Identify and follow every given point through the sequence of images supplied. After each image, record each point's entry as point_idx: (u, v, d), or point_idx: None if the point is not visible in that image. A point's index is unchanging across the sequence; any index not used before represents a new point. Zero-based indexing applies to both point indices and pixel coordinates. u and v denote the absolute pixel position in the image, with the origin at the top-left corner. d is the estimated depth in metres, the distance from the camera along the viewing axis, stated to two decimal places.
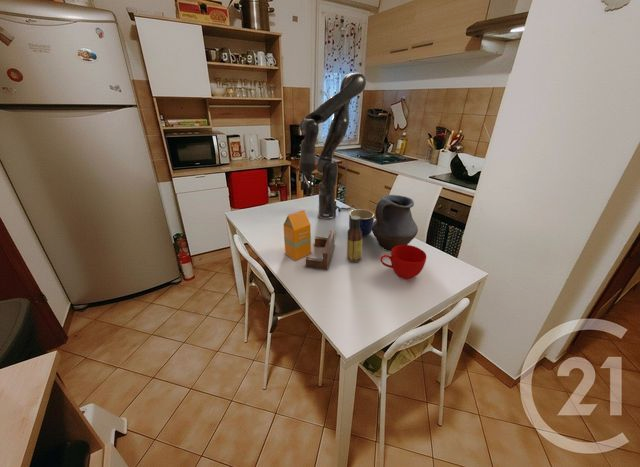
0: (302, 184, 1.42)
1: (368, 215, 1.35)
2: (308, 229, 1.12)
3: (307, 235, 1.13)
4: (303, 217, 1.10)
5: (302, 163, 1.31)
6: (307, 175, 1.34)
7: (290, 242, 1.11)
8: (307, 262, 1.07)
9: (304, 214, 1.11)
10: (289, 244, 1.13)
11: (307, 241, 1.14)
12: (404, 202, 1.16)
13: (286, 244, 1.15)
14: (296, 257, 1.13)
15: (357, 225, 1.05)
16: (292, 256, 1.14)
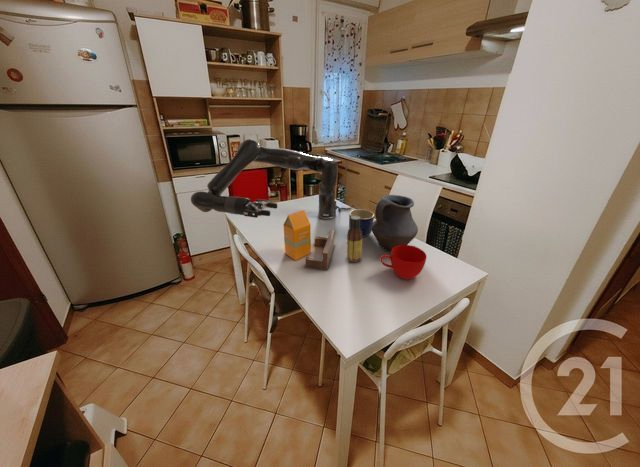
0: (270, 206, 1.14)
1: (368, 215, 1.35)
2: (308, 229, 1.12)
3: (307, 235, 1.13)
4: (303, 217, 1.10)
5: None
6: None
7: (290, 242, 1.11)
8: (307, 262, 1.07)
9: (304, 214, 1.11)
10: (289, 244, 1.13)
11: (307, 241, 1.14)
12: (404, 202, 1.16)
13: (286, 244, 1.15)
14: (296, 257, 1.13)
15: (357, 225, 1.05)
16: (292, 256, 1.14)
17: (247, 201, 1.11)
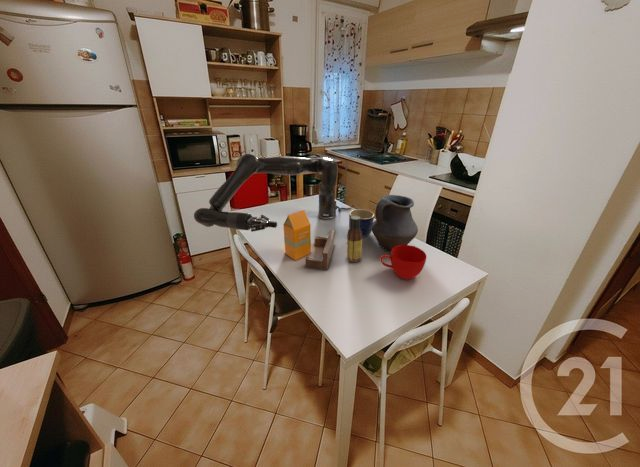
0: None
1: (368, 215, 1.35)
2: (308, 229, 1.12)
3: (307, 235, 1.13)
4: (303, 217, 1.10)
5: None
6: None
7: (290, 242, 1.11)
8: (307, 262, 1.07)
9: (304, 213, 1.11)
10: (289, 244, 1.13)
11: (307, 241, 1.14)
12: (404, 202, 1.16)
13: (286, 244, 1.15)
14: (296, 257, 1.13)
15: (357, 225, 1.05)
16: (292, 256, 1.14)
17: (248, 217, 1.14)
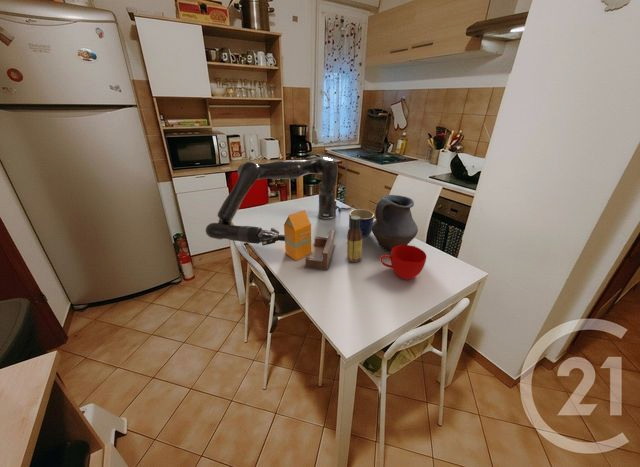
0: None
1: (368, 215, 1.35)
2: (309, 229, 1.12)
3: (308, 235, 1.13)
4: (304, 217, 1.10)
5: None
6: None
7: (291, 242, 1.11)
8: (307, 262, 1.07)
9: (304, 214, 1.11)
10: (290, 244, 1.13)
11: (308, 241, 1.14)
12: (404, 202, 1.16)
13: (287, 244, 1.14)
14: (297, 257, 1.13)
15: (357, 225, 1.05)
16: (293, 256, 1.14)
17: (259, 230, 1.17)
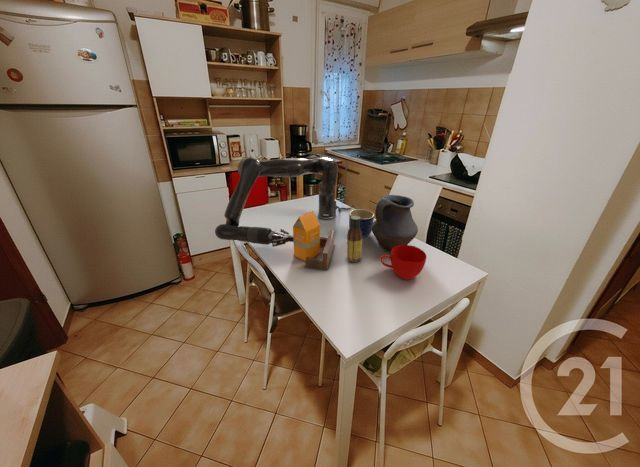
0: None
1: (368, 215, 1.35)
2: (318, 230, 1.12)
3: (317, 236, 1.12)
4: (313, 218, 1.10)
5: None
6: None
7: (301, 244, 1.10)
8: (307, 262, 1.07)
9: (313, 214, 1.11)
10: (299, 246, 1.11)
11: (317, 242, 1.14)
12: (404, 202, 1.16)
13: (296, 246, 1.13)
14: None
15: (357, 225, 1.05)
16: (303, 258, 1.13)
17: (269, 231, 1.16)
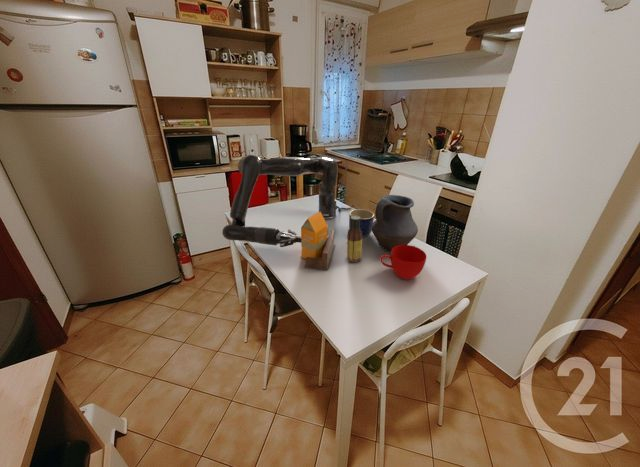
0: None
1: (368, 215, 1.35)
2: (326, 230, 1.11)
3: (325, 236, 1.12)
4: (320, 218, 1.09)
5: None
6: None
7: (309, 245, 1.09)
8: (307, 262, 1.07)
9: (321, 215, 1.10)
10: (308, 247, 1.10)
11: (325, 242, 1.13)
12: (404, 202, 1.16)
13: (304, 247, 1.12)
14: None
15: (357, 225, 1.05)
16: None
17: (276, 232, 1.15)
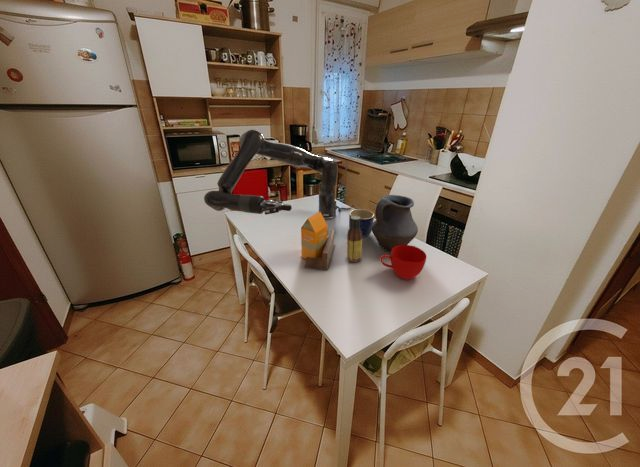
0: None
1: (368, 215, 1.35)
2: (326, 230, 1.11)
3: (325, 236, 1.12)
4: (320, 218, 1.09)
5: None
6: None
7: (309, 245, 1.09)
8: (307, 262, 1.07)
9: (321, 215, 1.10)
10: (308, 247, 1.10)
11: (325, 242, 1.13)
12: (404, 202, 1.16)
13: (304, 247, 1.12)
14: None
15: (357, 225, 1.05)
16: None
17: (261, 199, 1.09)
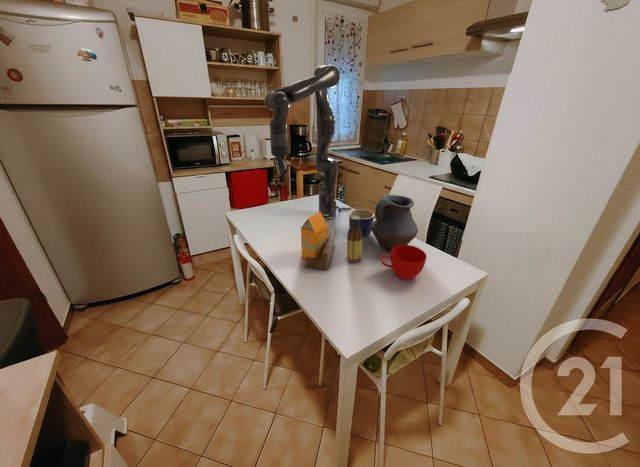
0: None
1: (368, 215, 1.35)
2: (326, 230, 1.11)
3: (325, 236, 1.12)
4: (320, 218, 1.09)
5: (273, 146, 1.12)
6: (280, 160, 1.15)
7: (309, 245, 1.09)
8: (307, 262, 1.07)
9: (321, 215, 1.10)
10: (308, 247, 1.10)
11: (325, 242, 1.13)
12: (404, 202, 1.16)
13: (304, 247, 1.12)
14: None
15: (357, 225, 1.05)
16: None
17: None
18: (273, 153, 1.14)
